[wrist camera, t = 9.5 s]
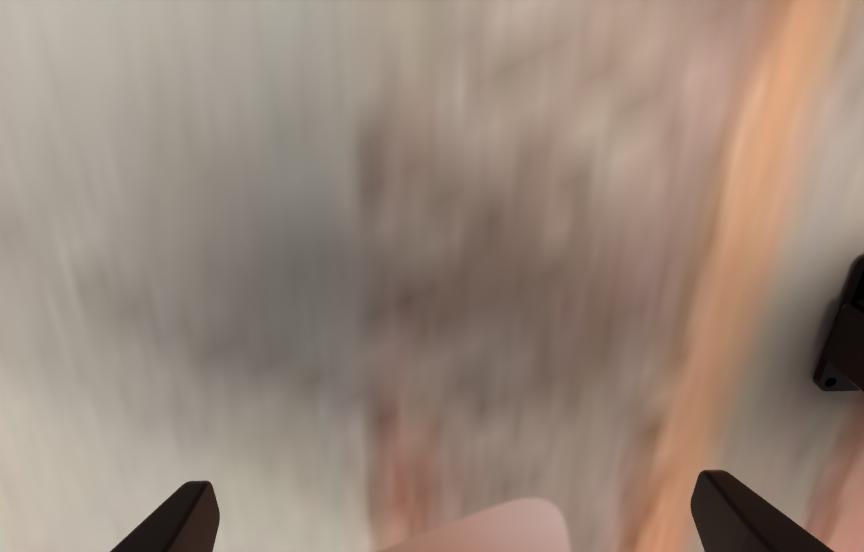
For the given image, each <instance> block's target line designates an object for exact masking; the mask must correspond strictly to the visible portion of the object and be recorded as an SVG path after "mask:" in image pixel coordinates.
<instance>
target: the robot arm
mask: <svg viewBox="0 0 864 552" xmlns="http://www.w3.org/2000/svg"><path fill="white" fill-rule="evenodd" d="M813 382H814V384H815V385H817V386H818V387H819V388H820V389H821V390H823V391H855V390H861V391H862V392H863V393H864V258H862V259H861V260H860V261H859V262H858V263H857V265H856V266H855V269H854V272H853V274H852V277H851V280H850V282H849V285H848V287H847V290H846V293H845V295H844V298H843V301H842V303H841V306H840V308H839V311H838V314H837V316H836V319H835V322H834V324H833V327H832V329H831V332H830V335H829V337H828V340H827V342H826V345H825V348H824V350H823V353H822V356H821V358H820V361H819V363H818V366H817V369H816V371H815V374H814V377H813ZM691 512H692V516H693V519H694V521H695V524H696V527H697V530H698V533H699V536H700V539H701V542H702V545H703V548H704V550H705V552H834V551H832V550H831V549H830V548H828V547H827V546H826V545H824V544H823V543H822V542H820V541H819V540H818V539H816V538H815V537H814V536H812V535H811V534H810V533H808V532H807V531H806V530H804V529H803V528H802V527H800V526H799V525H798V524H796V523H795V522H794V521H792V520H791V519H790V518H788V517H787V516H786V515H784V514H783V513H782V512H780V511H779V510H778V509H776V508H775V507H774V506H772V505H771V504H770V503H768V502H767V501H766V500H764V499H763V498H762V497H760V496H759V495H758V494H756V493H755V492H754V491H752V490H751V489H750V488H748V487H747V486H746V485H744V484H743V483H742V482H740V481H739V480H738V479H736V478H735V477H734V476H732V475H731V474H729V473H728V472H726V471H724V470H704V471H702V472H701V473H700V474H699V476H698V479H697V482H696V485H695V488H694V492H693V495H692V498H691ZM219 520H220V513H219V508H218V504H217V501H216V497H215V493H214V489H213V486H212V484H211V483H210V482H209V481H189V482H186V483H185V484H183V485H182V486H181V487H180V488H179V489H178V490H177V491H175V492H174V493H173V494H172V495H171V496H170V497H169V498H168V499H167V500H166V501H165V502H164V503H162V504H161V505H160V506H159V507H158V508H157V509H156V510H155V511H154V512H153V513H152V514H150V515H149V516H148V517H147V518H146V519H145V520H144V521H143V522H142V523H141V524H140V525H139V526H137V527H136V528H135V529H134V530H133V531H132V532H131V533H130V534H129V535H128V536H127V537H125V538H124V539H123V540H122V541H121V542H120V543H119V544H118V545H117V546H116V547H115V548H114V549H112V550H111V551H110V552H212V551H213V547H214V543H215V539H216V534H217V530H218V526H219Z"/></svg>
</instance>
